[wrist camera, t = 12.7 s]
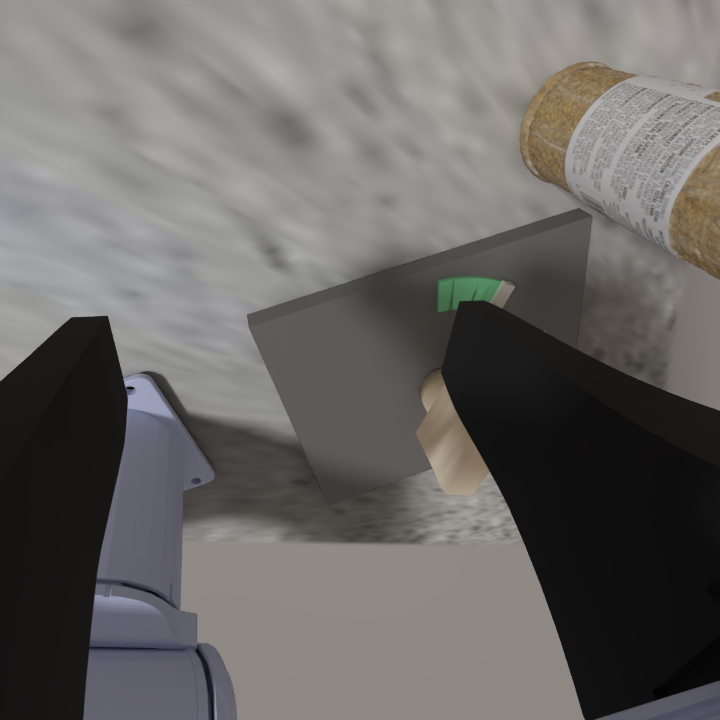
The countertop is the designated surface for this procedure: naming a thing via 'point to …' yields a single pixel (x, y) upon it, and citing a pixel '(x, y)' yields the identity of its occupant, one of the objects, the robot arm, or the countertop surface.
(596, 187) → the sprinkles bottle
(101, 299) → the countertop surface
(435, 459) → the peg
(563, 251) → the dial board
